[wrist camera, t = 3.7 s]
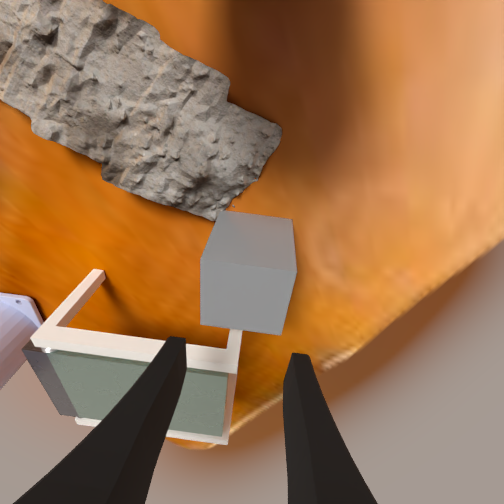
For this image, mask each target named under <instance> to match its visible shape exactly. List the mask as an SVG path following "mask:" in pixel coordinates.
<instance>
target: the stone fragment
mask: <svg viewBox="0 0 504 504" xmlns="http://www.w3.org/2000/svg"><path fill="white" fill-rule="evenodd" d="M229 86H230V80H229V79H228V77H226V76H225V75H223V74H222V73H220V72H219V71H217V70H215V69H212V68H210V67H208V66H206V65H204V64H202V63H201V62H199V61H197V60H194V59H192V58H190V57H188V56H184V55H182V54H181V53H179V52H177V51H176V50H174V49H172V48H170V47H169V46H168V45H166V44H165V43H164V42H163V41H161V40H160V34H159V32H158V31H157V30H156V28H155V27H153V26H152V25H150V24H148V23H147V22H145V21H143V20H140V19H137V18H135V17H134V16H133V15H131V14H129V13H127V12H125V11H122V10H120V9H118V8H116V7H115V6H113V5H111V4H106V3H105V2H103V1H102V0H0V99H1V100H2V101H3V102H5V103H7V104H8V105H10V106H12V107H14V108H17V109H18V110H20V111H21V112H23V113H24V114H26V115H27V116H29V117H30V118H31V120H32V123H31V128H32V131H33V132H34V133H35V134H36V135H38V136H40V137H42V138H44V139H47V140H51V141H55V142H58V143H60V144H62V145H64V146H66V147H69V148H71V149H72V150H74V151H76V152H78V153H81V154H84V155H87V156H88V157H90V158H91V159H93V160H95V161H97V162H99V163H102V173H101V175H102V179H103V180H104V181H106V182H109V183H112V184H113V185H115V186H116V187H118V188H121V189H123V190H126V191H128V192H130V193H133V194H137V195H140V196H142V197H144V198H146V199H148V200H151V201H154V202H157V203H161V204H163V205H169V206H173V207H175V208H178V209H180V210H183V211H188V212H190V213H192V214H195V215H199V216H203V217H205V218H207V219H209V220H210V221H216V220H217V217H218V215H219V213H220V212H222V211H225V209H226V208H227V207H228V206H229V204H230V202H231V200H232V199H233V198H234V197H236V196H238V195H239V194H240V193H242V192H243V190H244V189H245V188H246V187H248V186H249V185H250V184H251V183H253V182H254V181H258V177H259V176H260V172H261V171H262V167H263V166H264V164H265V163H266V160H267V159H268V158H269V156H270V155H271V154H272V153H273V152H274V151H275V149H276V148H277V146H278V145H279V143H280V139H281V136H282V128H281V127H280V126H279V125H278V124H277V123H271V122H269V121H268V120H266V119H264V118H262V117H260V116H258V115H256V114H253V113H250V112H248V111H245V110H244V109H242V108H240V107H238V106H236V105H234V104H232V103H229V102H227V95H228V90H229ZM255 178H256V179H255ZM233 207H234V208H235V206H234V205H233Z"/></svg>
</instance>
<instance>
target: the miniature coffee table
mask: <svg viewBox="0 0 504 504" xmlns="http://www.w3.org/2000/svg"><path fill="white" fill-rule="evenodd" d="M105 279H106V277H105V273H104V270H98V269H93V270H92V271H91V272H90V273H89V274H88V275H87V277H86V278H85V279H84V280H83V281H82V282H81V283H80V284H79V285H78V286H77V287H76V288H75V290H74V291H73V292H72V293H71V294H70V295H69V296H68V297H67V298H66V299H65V300H64V301H63V303H62V304H61V305H60V306H59V307H58V308H57V309H56V310H55V311H54V312H53V313H52V314H51V316H50V317H49V318H48V319H47V320H46V321H45V322H44V323H43V324H42V325H41V326H40V327H39V329H38V330H37V331H36V332H35V333H34V334H33V335H32V336H31V337H30V339H31V340H32V342H33V344H34V346H35V347H42V348H50V349H57V350H64V351H72V352H79V353H86V354H94V355H101V356H109V357H116V358H123V359H131V360H138V361H145V362H151V361H152V360H153V359H154V357H155V356H156V355H157V353H158V352H159V350H160V349H161V347H162V346H163V345H164V343H165V341H163V340H156V339H148V338H141V337H133V336H126V335H119V334H111V333H104V332H96V331H89V330H82V329H74V328H67V327H66V326H67V325H68V324H69V322H70V321H71V320H72V319H73V318H74V316H75V315H76V314H77V313H78V311H79V310H80V309H81V308H82V307H83V305H84V304H85V303H86V302H87V301H88V299H89V298H90V297H91V296H92V294H93V293H94V292H95V291H96V290H97V288H98V287H99V286H100V285H101V284H102V282H103V281H104V280H105ZM242 331H243V330H237V329H230V332H229V338H228V343H227V349H222V348H215V347H207V346H200V345H193V344H186V357H187V367H189V368H197V369H204V370H211V371H219V372H226V373H229V379H228V389H227V399H226V409H225V419H224V427H223V434H222V437H219V436H212V435H205V434H197V433H190V432H183V431H176V430H168V431H167V434H166V437H173V438H180V439H187V440H194V441H202V442H209V443H216V444H223V445H228V438H229V431H230V424H231V416H232V409H233V401H234V394H235V387H236V379H237V372H238V360H239V352H240V345H241V338H242ZM75 421H76V423H77V424H79V425H86V426H93V427H96V426H97V425H98V424H99V423H100V422H101V421H102V420H96V419H89V418H81V419H80V418H78V417H76V418H75Z"/></svg>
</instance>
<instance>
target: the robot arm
mask: <svg viewBox="0 0 504 504" xmlns="http://www.w3.org/2000/svg"><path fill="white" fill-rule="evenodd" d="M43 323H44V322H43V319H42V317H41V315H40V313H39V311H38V309H37V307H36V305H35V303H34V301H33V299H32V298H30V297H28V296H22V295H15V294H7V293H0V390H1V389H2V388H3V386H4V385H5V384H6V383H7V382H8V381H9V379H10V378H11V377H12V376H13V375H14V374H15V372H16V371H17V370H18V369H19V368H20V367H21V365H22V364H23V363H24V362H25V361H26V360H27V358H26V357H25V355H24V353H23V352H22V350H21V349H22V348H23V347H24V346H25V345H26V344H27V343H28V342H29V340H30V337H31V336H32V335H33V334H34V333H35V332H36V331H37V330H38V329H39V327H40V326H41V325H42V324H43ZM186 371H187V357H186V338H179V337H172V336H170V337H168V338H167V340H166V341H165V343H164V345H163V346H162V347H161V349H160V350H159V352H158V353H157V355H156V356H155V357H154V359H153V360H152V361H151V363H150V364H149V365H148V367H147V368H146V369H145V371H144V372H143V373H142V374H141V376H140V377H139V378H138V379H137V381H136V382H135V383H134V384H133V386H132V387H131V388H130V389H129V390H128V392H127V393H126V394H125V395H124V396H123V397H122V398H121V400H120V401H119V402H118V403H117V404H116V405H115V406H114V408H113V409H112V410H111V411H110V412H109V413H108V414H107V415H106V416H105V418H104V419H103V420H102V421H101V422H100V423H99V424H98V425H97V426H96V427H95V428H94V429H93V430H92V431H91V432H90V433H89V434H88V435H87V437H85V438H84V440H82V441H81V442H80V443H79V444H78V445H77V446H76V447H75V448H74V449H73V450H72V451H71V452H70V453H69V454H68V455H67V456H66V457H65V458H64V459H63V460H62V461H61V462H60V463H58V464H57V465H56V466H55V467H54V468H53V469H52V470H51V471H50V472H49V473H48V474H46V475H45V476H44V477H43V478H42V479H41V480H40V481H39V482H37V483H36V484H35V485H34V486H33V487H32V488H30V489H29V490H28V491H27V492H26V493H25V494H24V495H22V496H21V497H20V498H19V499H18V500H17V501H16V502H14V503H13V504H145V501H146V498H147V494H148V490H149V487H150V483H151V479H152V475H153V472H154V468H155V466H156V463H157V460H158V456H159V453H160V450H161V448H162V445H163V442H164V440H165V437H166V434H167V431H168V429H169V426H170V423H171V420H172V417H173V415H174V412H175V409H176V406H177V403H178V400H179V398H180V395H181V391H182V387H183V383H184V379H185V375H186ZM283 418H284V433H285V447H286V461H287V473H288V474H287V476H288V504H377V502H376V500H375V498H374V497H373V495H372V493H371V491H370V490H369V488H368V486H367V485H366V483H365V481H364V479H363V477H362V476H361V474H360V472H359V470H358V468H357V466H356V464H355V463H354V461H353V459H352V457H351V455H350V453H349V451H348V449H347V447H346V445H345V443H344V441H343V439H342V437H341V435H340V433H339V431H338V428H337V426H336V424H335V422H334V420H333V417H332V415H331V413H330V411H329V408H328V406H327V403H326V401H325V399H324V396H323V394H322V391H321V389H320V386H319V383H318V381H317V378H316V375H315V372H314V369H313V366H312V363H311V360H310V357H309V356H308V355H307V354H299V353H292V355H291V359H290V362H289V365H288V369H287V372H286V375H285V379H284V386H283Z"/></svg>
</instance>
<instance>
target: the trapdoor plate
mask: <svg viewBox="0 0 504 504" xmlns="http://www.w3.org/2000/svg"><path fill="white" fill-rule="evenodd" d="M21 350H22V352H23V353H24V355H25V357H26V358H27V360H28V362H29V363H30V365H31V367H32V368H33V370H34V372H35V373H36V375H37V377H38V378H39V380H40V382H41V383H42V385H43V387H44V389H45V390H46V392H47V393H48V395H49V397H50V398H51V400H52V402H53V404H54V405H55V407H56V408H57V410H58V412H59V414H60V415H67V416H74V417H78V418H80V419H81V418H89V419H96V420H103V419H104V418H105V416H106V415H107V414H108V413H109V412H110V411H111V410H112V409H113V408H114V406H115V405H116V404H117V403H118V402H119V401H120V400H121V398H122V397H123V396H124V395H125V394H126V393H127V392H128V390H129V389H130V388H131V387H132V386H133V384H134V383H135V382H136V381H137V379H138V378H139V377H140V376H141V374H142V373H143V372H144V371H145V369H146V368H147V367H148V365H149V364H150V363H151V362H145V361H138V360H131V359H123V358H116V357H109V356H101V355H94V354H86V353H79V352H72V351H64V350H57V349H50V348H42V347H35V346H34V344H33V342H32V340H31V339H30V340H29V342H28V343H27V344H26V345H25V346H24V347H23V348H22V349H21ZM228 379H229V373H226V372H219V371H211V370H204V369H197V368H189V367H187V371H186V375H185V379H184V383H183V387H182V391H181V395H180V398H179V400H178V403H177V406H176V409H175V412H174V415H173V417H172V420H171V423H170V426H169V429H168V430H176V431H183V432H190V433H197V434H205V435H212V436H219V437H222V434H223V427H224V419H225V409H226V399H227V389H228Z"/></svg>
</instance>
